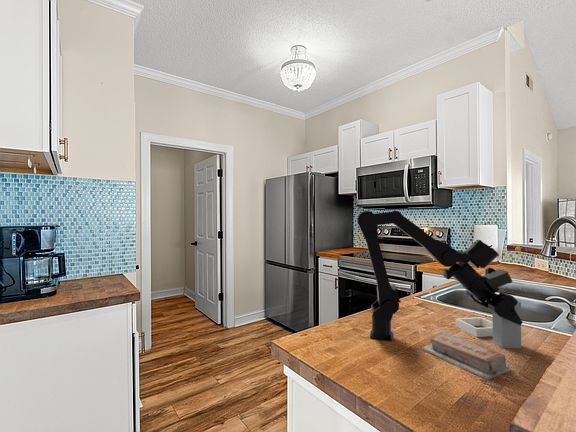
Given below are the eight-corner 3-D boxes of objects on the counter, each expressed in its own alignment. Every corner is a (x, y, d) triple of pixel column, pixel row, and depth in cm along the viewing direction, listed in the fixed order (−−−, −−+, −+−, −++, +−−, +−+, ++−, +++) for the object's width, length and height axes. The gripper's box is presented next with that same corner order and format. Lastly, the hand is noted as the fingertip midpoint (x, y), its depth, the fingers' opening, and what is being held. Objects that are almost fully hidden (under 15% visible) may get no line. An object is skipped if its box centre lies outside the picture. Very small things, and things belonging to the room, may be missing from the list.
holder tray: (476, 337, 94) (476, 329, 94) (455, 325, 103) (455, 318, 103) (504, 335, 95) (504, 327, 95) (481, 324, 105) (481, 317, 105)
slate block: (501, 347, 86) (501, 301, 86) (492, 340, 91) (492, 297, 91) (521, 348, 86) (521, 302, 86) (511, 341, 91) (510, 297, 91)
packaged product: (512, 352, 74) (488, 361, 69) (512, 372, 74) (488, 382, 69) (444, 327, 90) (421, 334, 85) (444, 344, 90) (421, 351, 85)
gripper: (509, 265, 80) (556, 309, 78) (476, 256, 98) (514, 291, 97) (476, 294, 81) (522, 338, 79) (450, 279, 100) (487, 315, 98)
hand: (511, 318), depth 88 cm, fingers open, 9 cm apart
